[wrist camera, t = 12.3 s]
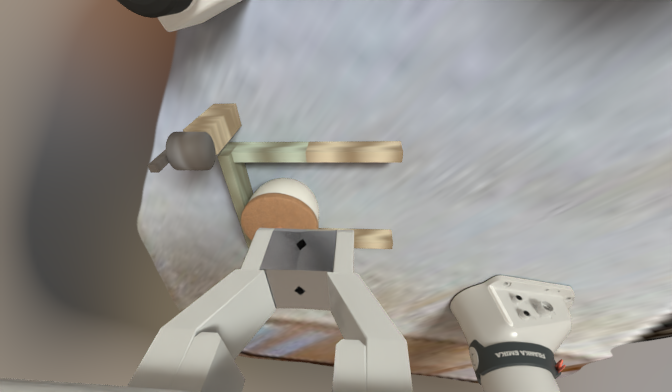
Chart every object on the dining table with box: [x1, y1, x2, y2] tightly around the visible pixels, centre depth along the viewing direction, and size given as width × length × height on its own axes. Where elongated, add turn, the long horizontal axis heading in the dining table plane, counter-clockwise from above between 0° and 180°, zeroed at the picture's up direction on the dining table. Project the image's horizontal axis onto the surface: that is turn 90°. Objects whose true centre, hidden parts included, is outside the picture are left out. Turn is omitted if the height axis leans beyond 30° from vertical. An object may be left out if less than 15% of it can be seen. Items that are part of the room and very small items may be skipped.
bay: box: [217, 141, 403, 249], centre depth 43 cm, size 24×18×4 cm
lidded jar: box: [241, 178, 319, 240], centre depth 41 cm, size 11×11×9 cm
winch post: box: [147, 104, 242, 172], centre depth 32 cm, size 4×4×14 cm
